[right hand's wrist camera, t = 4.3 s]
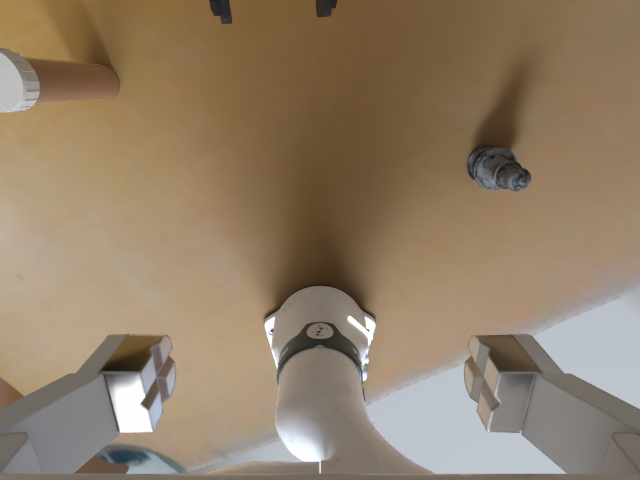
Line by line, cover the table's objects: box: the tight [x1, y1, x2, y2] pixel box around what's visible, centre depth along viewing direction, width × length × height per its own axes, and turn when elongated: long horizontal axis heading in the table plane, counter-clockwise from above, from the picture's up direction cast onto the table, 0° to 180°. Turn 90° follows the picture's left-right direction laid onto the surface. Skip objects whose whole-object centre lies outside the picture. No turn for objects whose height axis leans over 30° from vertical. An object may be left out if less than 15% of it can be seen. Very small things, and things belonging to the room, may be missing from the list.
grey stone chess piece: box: [467, 146, 531, 191], centre depth 51 cm, size 6×6×12 cm
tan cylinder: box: [22, 56, 119, 105], centre depth 44 cm, size 4×4×19 cm
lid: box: [0, 48, 40, 113], centre depth 36 cm, size 6×6×2 cm
